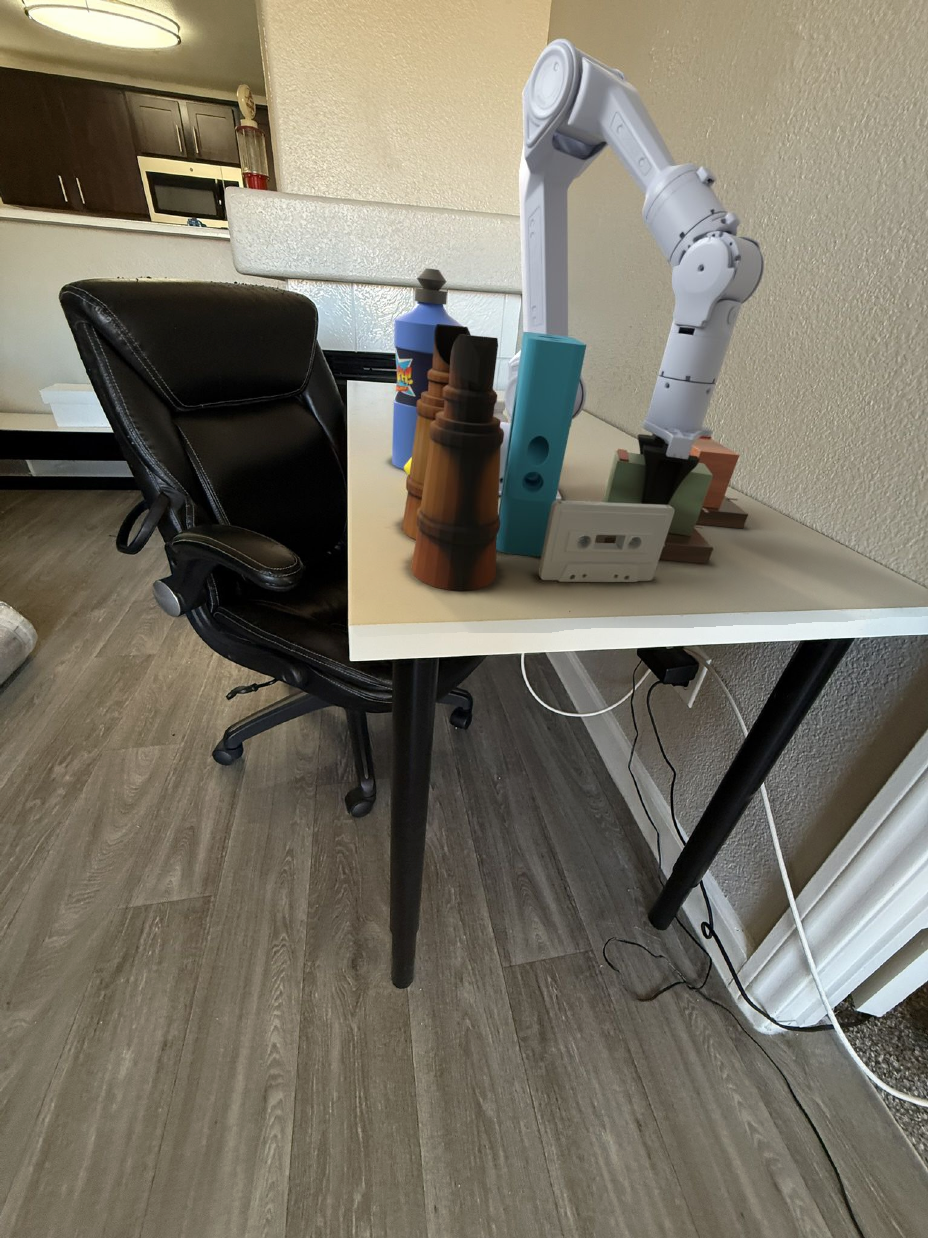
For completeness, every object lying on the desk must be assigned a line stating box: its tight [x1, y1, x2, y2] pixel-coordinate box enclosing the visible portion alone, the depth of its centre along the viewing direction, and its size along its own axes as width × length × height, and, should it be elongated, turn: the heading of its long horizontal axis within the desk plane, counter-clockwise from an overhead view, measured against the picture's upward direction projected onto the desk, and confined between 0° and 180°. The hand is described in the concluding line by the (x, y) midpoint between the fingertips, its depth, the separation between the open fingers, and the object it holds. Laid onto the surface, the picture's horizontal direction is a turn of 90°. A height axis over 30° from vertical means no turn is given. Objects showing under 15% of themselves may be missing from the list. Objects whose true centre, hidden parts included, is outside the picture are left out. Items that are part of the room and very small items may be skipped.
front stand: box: [584, 500, 714, 565], centre depth 62 cm, size 14×14×2 cm
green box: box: [602, 448, 713, 536], centre depth 59 cm, size 10×5×7 cm, turn 78°
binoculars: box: [401, 324, 504, 592], centre depth 49 cm, size 18×8×20 cm, turn 11°
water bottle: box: [391, 267, 463, 470], centre depth 73 cm, size 9×9×25 cm
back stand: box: [696, 495, 749, 529], centre depth 73 cm, size 14×14×2 cm
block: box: [496, 331, 587, 557], centre depth 53 cm, size 12×5×20 cm, turn 176°
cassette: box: [537, 500, 675, 583], centre depth 50 cm, size 12×2×8 cm, turn 99°
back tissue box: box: [689, 436, 740, 508], centre depth 71 cm, size 10×5×7 cm, turn 179°
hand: (648, 506), depth 60 cm, fingers closed on green box, 5 cm apart
